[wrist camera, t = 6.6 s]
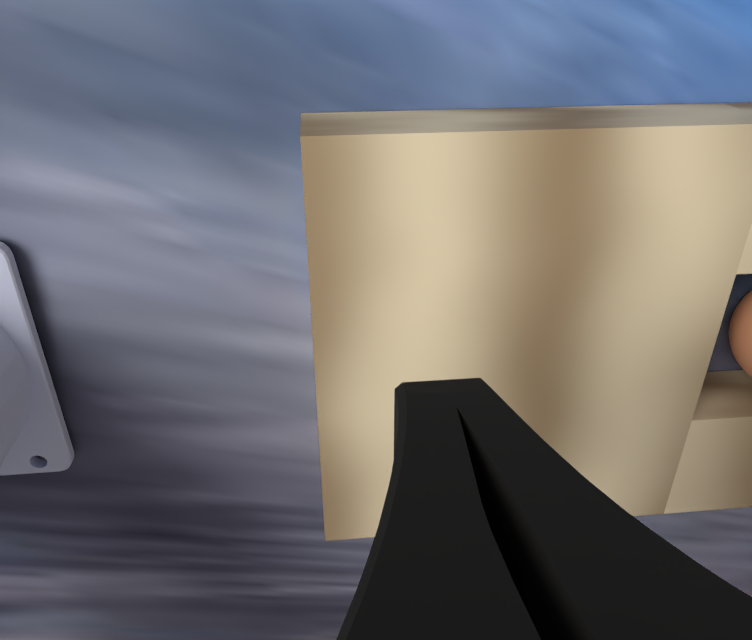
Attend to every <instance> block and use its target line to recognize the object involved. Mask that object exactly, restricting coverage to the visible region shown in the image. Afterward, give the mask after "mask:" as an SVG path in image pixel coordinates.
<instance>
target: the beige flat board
mask: <svg viewBox="0 0 752 640" xmlns="http://www.w3.org/2000/svg"><path fill="white" fill-rule="evenodd" d="M300 139H301V156H302V172H303V188H304V204H305V221H306V237H307V253H308V269H309V286H310V302H311V318H312V334H313V351H314V367H315V383H316V400H317V416H318V432H319V448H320V465H321V481H322V497H323V513H324V530H325V541H331V540H343V539H356V538H368V537H375V535H376V532H377V528H378V525H379V521H380V518H381V514H382V510H383V506H384V502H385V498H386V494H387V490H388V487H389V482H390V478H391V473H392V467H393V461H394V391H395V388H396V387H397V386H399V385H400V384H401V383H402V382H416V381H433V380H449V379H466V378H481V379H482V380H483V381H485V382H486V383H487V384H488V385H489V386H490V387H491V388H492V389H493V390H494V391H495V392H496V393H497V394H498V395H499V396H500V397H501V398H502V399H503V400H504V401H505V402H506V403H507V404H508V405H509V406H510V407H511V408H512V409H513V410H514V411H515V412H516V413H517V414H518V415H519V416H520V417H521V418H522V419H523V420H524V421H525V422H526V423H527V424H528V425H529V426H530V427H531V428H532V429H533V430H534V431H535V432H536V433H537V434H538V435H539V436H540V437H541V438H542V439H543V440H544V441H545V442H546V443H547V444H549V445H550V446H551V447H552V448H553V449H554V450H555V451H556V452H557V453H558V454H560V455H561V456H562V457H563V458H564V459H565V460H566V461H567V462H568V463H569V464H570V465H572V466H573V467H574V468H575V469H576V470H577V471H578V472H579V473H580V474H582V475H583V476H584V477H585V478H586V479H587V480H589V481H590V482H591V483H592V484H593V485H595V486H596V487H597V488H598V489H599V490H601V491H602V492H603V493H604V494H606V495H607V496H608V497H609V498H611V499H612V500H613V501H614V502H615V503H617V504H618V505H619V506H620V507H622V508H623V509H624V510H625V511H627V512H628V513H629V514H630V515H632V516H643V515H655V514H668V513H680V512H693V511H705V510H718V509H730V508H743V507H752V377H750V376H749V375H748V374H747V373H746V372H745V371H744V370H728V371H712V372H707V369H708V366H709V362H710V359H711V356H712V353H713V349H714V346H715V343H716V339H717V336H718V333H719V329H720V326H721V323H722V320H723V316H724V313H725V310H726V306H727V303H728V300H729V296H730V293H731V290H732V287H733V283H734V280H735V277H736V274H752V102H746V103H705V104H664V105H622V106H581V107H540V108H498V109H457V110H416V111H374V112H333V113H301V128H300Z"/></svg>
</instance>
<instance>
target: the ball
mask: <svg viewBox="0 0 752 640" xmlns="http://www.w3.org/2000/svg"><path fill="white" fill-rule="evenodd" d="M729 343H730V346H731V350H732V353H733V355H734V357H735V359H736V361H737V362H738V364H739V365H740V366H741V368H742V369H743V370H744V371H745V372H746V373H747V374H748V375H749V376H750V377H752V290H751V291H750V292H749V293H747V294H746V295H745V296H744V297H743V298H742V300H741V301H740V302H739V304H738V305H737V306H736V308H735V310H734V312H733V314H732V317H731V320H730V325H729Z"/></svg>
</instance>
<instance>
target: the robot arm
mask: <svg viewBox="0 0 752 640" xmlns="http://www.w3.org/2000/svg"><path fill="white" fill-rule="evenodd" d="M36 456H42V457H44V458H45V459H46V460H42V459H39V458H37V457H36ZM73 459H74V450H73V447H72V444H71V440H70V437H69V434H68V431H67V427H66V424H65V421H64V418H63V414H62V411H61V408H60V405H59V401H58V398H57V395H56V392H55V388H54V385H53V382H52V379H51V375H50V372H49V369H48V366H47V362H46V359H45V356H44V353H43V350H42V346H41V343H40V340H39V337H38V333H37V330H36V327H35V324H34V320H33V317H32V314H31V311H30V307H29V304H28V301H27V298H26V294H25V291H24V288H23V285H22V281H21V278H20V275H19V272H18V268H17V265H16V262H15V259H14V255H13V253H12V251H11V250H10V248H9V247H8V246H7V245H6V244H4V243H3V242H1V241H0V476H1V475H16V474H30V473H45V472H59V471H64V470H66V469H68V468H69V467H70V465H71V463H72V461H73ZM336 640H752V597H751V596H749V595H747V594H746V593H744V592H742V591H741V590H739V589H737V588H736V587H734V586H733V585H731V584H729V583H728V582H726V581H725V580H723V579H722V578H720V577H718V576H717V575H715V574H714V573H712V572H711V571H709V570H708V569H706V568H705V567H703V566H702V565H700V564H699V563H697V562H696V561H694V560H693V559H691V558H690V557H689V556H687V555H686V554H684V553H683V552H681V551H680V550H679V549H677V548H676V547H674V546H673V545H672V544H670V543H669V542H667V541H666V540H664V539H663V538H662V537H660V536H659V535H657V534H656V533H655V532H653V531H652V530H650V529H649V528H648V527H646V526H645V525H644V524H642V523H641V522H640V521H638V520H637V519H636V518H634V517H633V516H632V515H630V514H629V513H628V512H627V511H625V510H624V509H623V508H622V507H620V506H619V505H618V504H617V503H615V502H614V501H613V500H612V499H611V498H609V497H608V496H607V495H606V494H604V493H603V492H602V491H601V490H599V489H598V488H597V487H596V486H595V485H593V484H592V483H591V482H590V481H589V480H587V479H586V478H585V477H584V476H583V475H582V474H580V473H579V472H578V471H577V470H576V469H575V468H574V467H573V466H572V465H570V464H569V463H568V462H567V461H566V460H565V459H564V458H563V457H562V456H561V455H560V454H558V453H557V452H556V451H555V450H554V449H553V448H552V447H551V446H550V445H549V444H547V443H546V442H545V441H544V440H543V439H542V438H541V437H540V436H539V435H538V434H537V433H536V432H535V431H534V430H533V429H532V428H531V427H530V426H529V425H528V424H527V423H526V422H525V421H524V420H523V419H522V418H521V417H520V416H519V415H518V414H517V413H516V412H515V411H514V410H513V409H512V408H511V407H510V406H509V405H508V404H507V403H506V402H505V401H504V400H503V399H502V398H501V397H500V396H499V395H498V394H497V393H496V392H495V391H494V390H493V389H492V388H491V387H490V386H489V385H488V384H487V383H486V382H485V381H483V380H482V379H481V378H466V379H449V380H433V381H416V382H402V383H401V384H400V385H399V386H397V387H396V388H395V391H394V461H393V467H392V473H391V478H390V482H389V487H388V490H387V494H386V498H385V502H384V506H383V510H382V514H381V518H380V521H379V525H378V528H377V532H376V535H375V538H374V541H373V545H372V548H371V551H370V554H369V557H368V560H367V563H366V565H365V568H364V571H363V574H362V577H361V580H360V582H359V585H358V588H357V590H356V593H355V595H354V598H353V600H352V603H351V605H350V608H349V610H348V613H347V615H346V618H345V620H344V623H343V625H342V628H341V630H340V633H339V635H338V637H337V639H336Z"/></svg>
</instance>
